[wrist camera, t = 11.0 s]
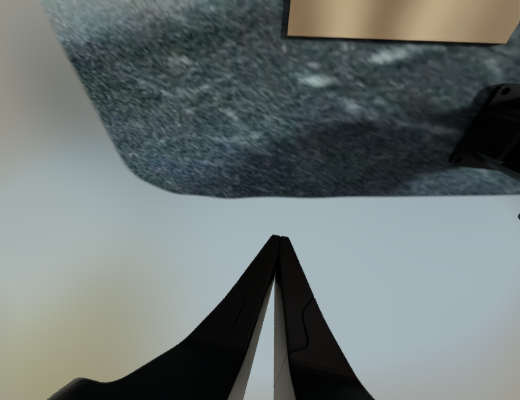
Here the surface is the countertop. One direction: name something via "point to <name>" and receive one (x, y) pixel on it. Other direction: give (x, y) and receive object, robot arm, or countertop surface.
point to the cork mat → (406, 20)
